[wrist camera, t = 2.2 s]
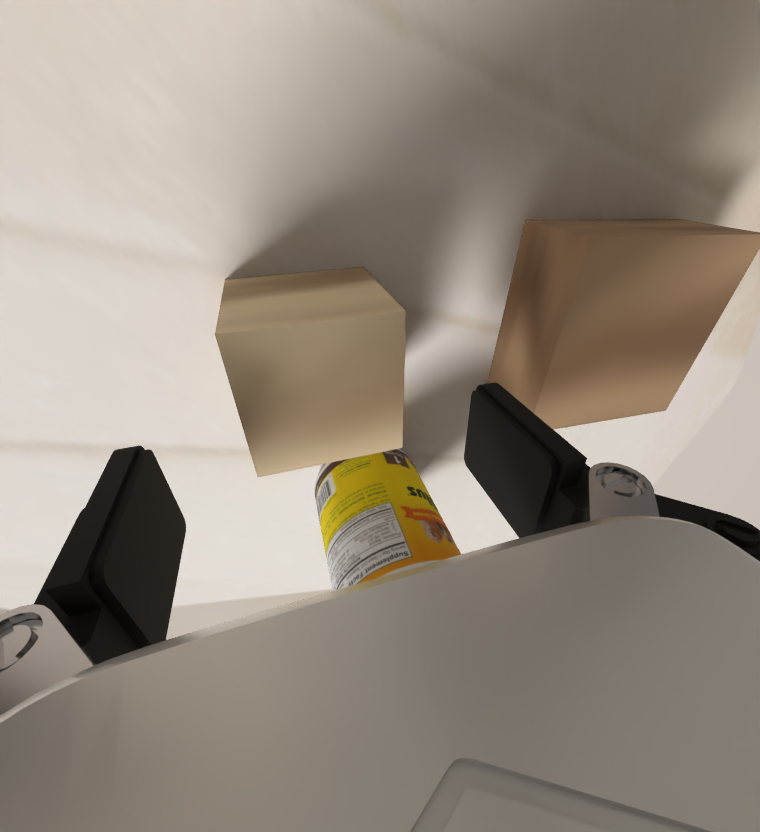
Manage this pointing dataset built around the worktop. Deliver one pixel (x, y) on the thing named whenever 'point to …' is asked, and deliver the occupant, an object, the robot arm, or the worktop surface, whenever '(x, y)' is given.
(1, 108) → the worktop surface
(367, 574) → the supplement bottle
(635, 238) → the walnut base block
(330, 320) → the oak cube
